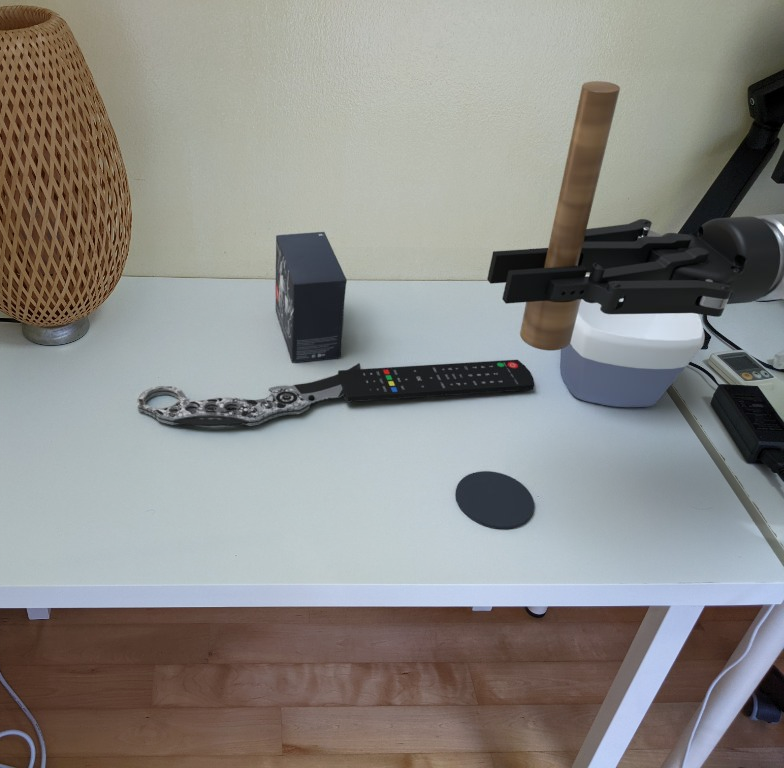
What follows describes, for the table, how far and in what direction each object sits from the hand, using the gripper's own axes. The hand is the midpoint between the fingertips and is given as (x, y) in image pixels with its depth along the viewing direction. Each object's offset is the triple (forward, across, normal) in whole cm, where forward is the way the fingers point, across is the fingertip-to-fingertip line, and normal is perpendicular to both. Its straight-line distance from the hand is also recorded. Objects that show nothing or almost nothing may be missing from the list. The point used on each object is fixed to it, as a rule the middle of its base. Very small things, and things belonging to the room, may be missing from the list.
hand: (499, 277), depth 65 cm
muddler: (-6, 0, -6) cm, 9 cm away
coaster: (-4, -1, -26) cm, 27 cm away
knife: (+18, +19, -27) cm, 37 cm away
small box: (+9, +32, -27) cm, 43 cm away
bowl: (-27, +17, -27) cm, 41 cm away
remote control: (-5, +18, -26) cm, 33 cm away
